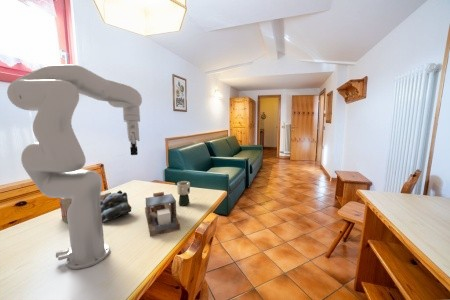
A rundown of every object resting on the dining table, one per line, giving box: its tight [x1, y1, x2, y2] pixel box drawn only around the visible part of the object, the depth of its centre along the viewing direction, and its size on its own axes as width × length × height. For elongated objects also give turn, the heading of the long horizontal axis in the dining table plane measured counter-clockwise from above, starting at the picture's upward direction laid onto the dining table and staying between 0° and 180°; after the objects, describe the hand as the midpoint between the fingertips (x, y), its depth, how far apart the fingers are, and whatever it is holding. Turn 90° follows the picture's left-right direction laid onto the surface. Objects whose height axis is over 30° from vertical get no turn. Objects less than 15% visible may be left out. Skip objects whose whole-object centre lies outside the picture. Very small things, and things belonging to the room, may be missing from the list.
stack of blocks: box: [59, 190, 112, 223], centre depth 103 cm, size 21×6×12 cm, turn 139°
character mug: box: [176, 180, 191, 206], centre depth 114 cm, size 11×7×13 cm, turn 10°
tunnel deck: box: [144, 193, 181, 238], centre depth 95 cm, size 13×26×11 cm, turn 26°
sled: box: [152, 191, 176, 232], centre depth 91 cm, size 9×20×9 cm, turn 26°
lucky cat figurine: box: [101, 190, 132, 224], centre depth 99 cm, size 15×12×14 cm
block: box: [157, 208, 171, 225], centre depth 87 cm, size 5×5×6 cm
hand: (134, 154), depth 101 cm, fingers closed
